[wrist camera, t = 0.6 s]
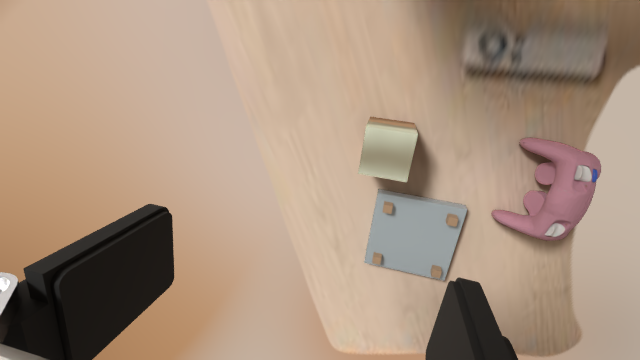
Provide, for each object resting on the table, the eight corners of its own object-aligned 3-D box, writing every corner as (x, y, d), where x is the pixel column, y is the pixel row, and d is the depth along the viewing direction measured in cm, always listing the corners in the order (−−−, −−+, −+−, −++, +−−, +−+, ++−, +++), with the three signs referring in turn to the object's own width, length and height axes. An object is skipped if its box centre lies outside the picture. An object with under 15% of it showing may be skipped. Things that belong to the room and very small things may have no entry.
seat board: (378, 189, 37) (377, 196, 35) (465, 204, 36) (469, 213, 34) (365, 257, 41) (363, 267, 39) (442, 274, 39) (445, 286, 37)
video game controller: (516, 217, 36) (573, 253, 30) (484, 217, 35) (538, 255, 29) (551, 135, 33) (625, 158, 26) (517, 132, 31) (586, 155, 25)
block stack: (370, 116, 35) (366, 126, 29) (414, 123, 34) (417, 134, 28) (363, 157, 36) (358, 173, 31) (404, 164, 36) (406, 182, 30)
